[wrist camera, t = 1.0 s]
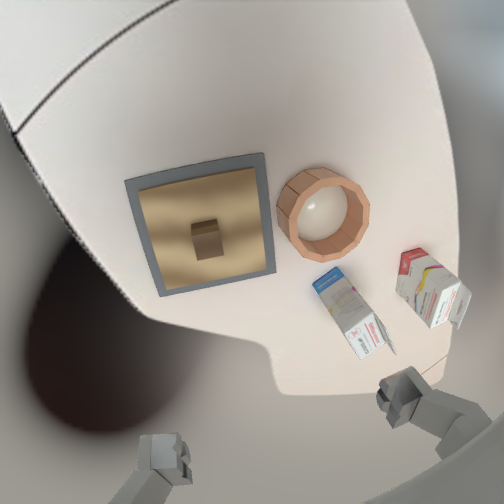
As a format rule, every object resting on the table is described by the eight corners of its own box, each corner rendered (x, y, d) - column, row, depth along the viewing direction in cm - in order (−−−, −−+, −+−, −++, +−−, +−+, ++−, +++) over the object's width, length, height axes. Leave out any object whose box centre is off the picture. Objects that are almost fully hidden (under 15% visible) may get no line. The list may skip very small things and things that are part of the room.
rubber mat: (125, 180, 32) (124, 181, 31) (263, 152, 34) (264, 153, 33) (160, 295, 40) (159, 297, 40) (275, 271, 42) (276, 272, 42)
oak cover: (138, 190, 32) (132, 201, 28) (253, 166, 34) (261, 174, 30) (166, 286, 39) (165, 306, 35) (265, 266, 41) (273, 283, 37)
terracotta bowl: (273, 174, 35) (285, 184, 31) (350, 164, 37) (370, 173, 32) (280, 251, 41) (291, 269, 36) (350, 236, 42) (366, 251, 38)
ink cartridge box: (400, 252, 46) (454, 300, 33) (420, 246, 46) (474, 290, 34) (394, 291, 50) (439, 341, 37) (413, 284, 51) (459, 330, 38)
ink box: (310, 283, 45) (353, 350, 32) (336, 265, 44) (386, 326, 31) (330, 314, 49) (369, 375, 36) (353, 297, 48) (398, 355, 35)
